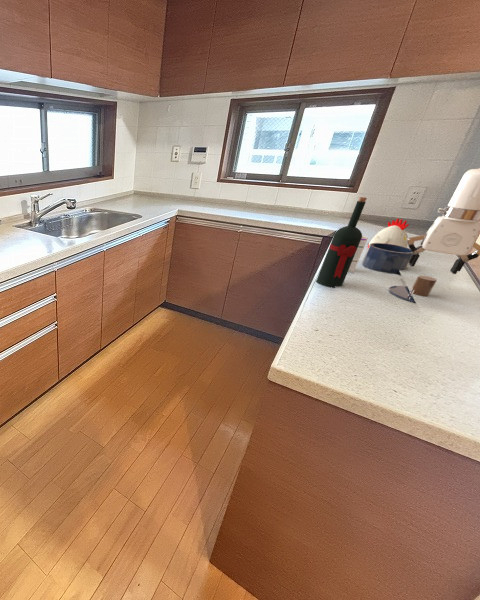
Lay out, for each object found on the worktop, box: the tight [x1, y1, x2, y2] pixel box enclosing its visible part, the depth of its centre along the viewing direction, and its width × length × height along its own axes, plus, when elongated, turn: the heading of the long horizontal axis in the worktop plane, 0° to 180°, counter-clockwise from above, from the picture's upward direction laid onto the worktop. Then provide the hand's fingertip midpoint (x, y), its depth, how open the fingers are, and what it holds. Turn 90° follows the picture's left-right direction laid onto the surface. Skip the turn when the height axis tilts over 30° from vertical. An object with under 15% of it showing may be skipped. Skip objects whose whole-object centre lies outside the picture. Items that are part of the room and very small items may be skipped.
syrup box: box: [348, 234, 369, 273], centre depth 126 cm, size 6×6×14 cm
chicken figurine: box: [367, 218, 410, 249], centre depth 152 cm, size 14×14×15 cm
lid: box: [388, 275, 438, 304], centre depth 105 cm, size 15×15×7 cm
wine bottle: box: [315, 196, 367, 289], centre depth 109 cm, size 8×10×30 cm
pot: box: [361, 243, 413, 275], centre depth 131 cm, size 14×19×8 cm
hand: (431, 269), depth 102 cm, fingers open, 9 cm apart
